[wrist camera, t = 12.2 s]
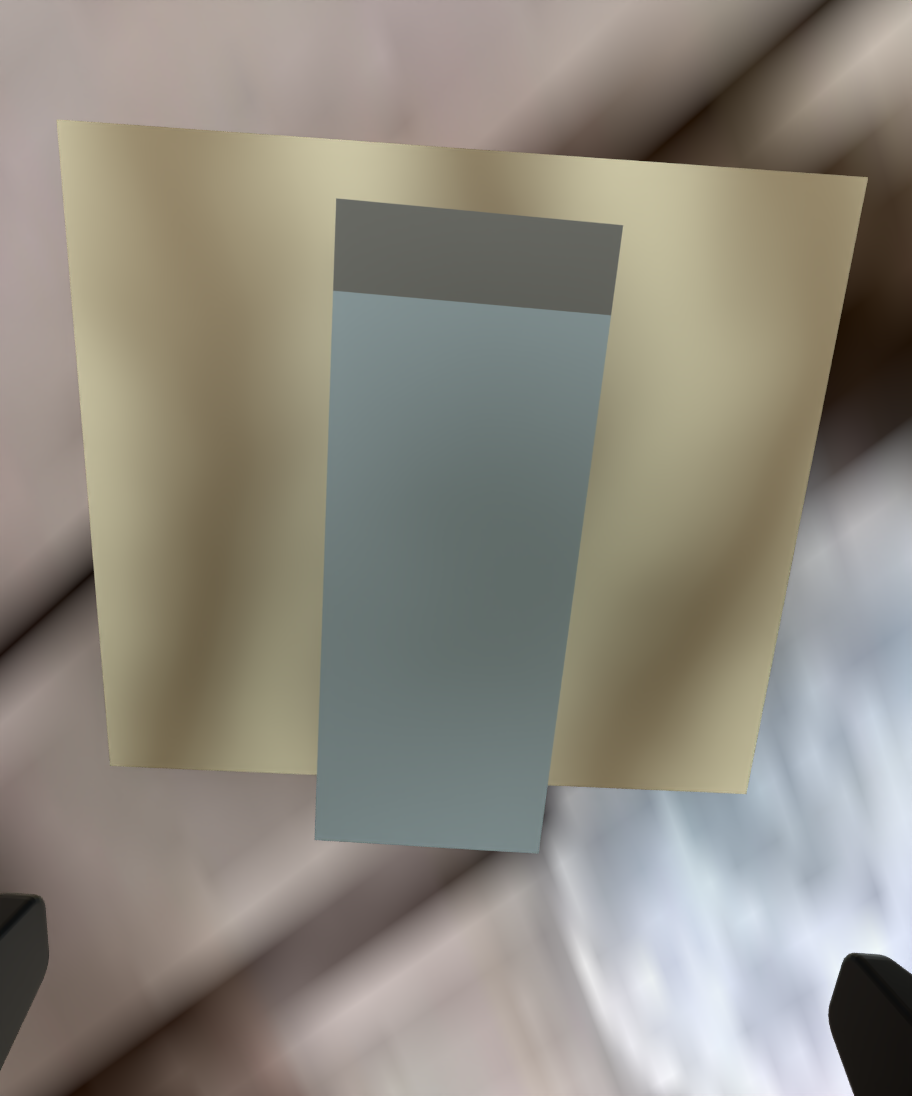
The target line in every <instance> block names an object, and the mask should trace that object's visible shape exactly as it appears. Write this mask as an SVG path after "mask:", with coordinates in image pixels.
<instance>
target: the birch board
mask: <svg viewBox="0 0 912 1096" xmlns="http://www.w3.org/2000/svg"><path fill="white" fill-rule="evenodd" d="M57 130H58V142H59V154H60V166H61V178H62V190H63V202H64V215H65V227H66V239H67V251H68V263H69V275H70V287H71V299H72V311H73V323H74V335H75V347H76V359H77V371H78V383H79V396H80V408H81V420H82V432H83V444H84V456H85V468H86V480H87V492H88V504H89V516H90V528H91V540H92V552H93V565H94V577H95V589H96V601H97V613H98V625H99V637H100V649H101V661H102V673H103V685H104V697H105V709H106V721H107V734H108V746H109V758H110V766H125V767H148V768H170V769H193V770H215V771H238V772H261V773H283V774H306V775H317V757H318V727H319V697H320V667H321V637H322V608H323V578H324V548H325V518H326V488H327V458H328V428H329V398H330V368H331V338H332V308H333V278H334V248H335V218H336V198H338V199H348V200H359V201H370V202H380V203H391V204H402V205H413V206H423V207H434V208H445V209H455V210H466V211H477V212H487V213H498V214H509V215H520V216H530V217H541V218H552V219H562V220H573V221H584V222H595V223H605V224H616V225H623V231H622V238H621V246H620V253H619V261H618V268H617V275H616V283H615V290H614V298H613V305H612V312H611V320H610V327H609V335H608V342H607V349H606V357H605V364H604V372H603V379H602V386H601V394H600V401H599V409H598V416H597V423H596V431H595V438H594V446H593V453H592V460H591V468H590V475H589V483H588V490H587V497H586V505H585V512H584V520H583V527H582V534H581V542H580V549H579V557H578V564H577V571H576V579H575V586H574V594H573V601H572V608H571V616H570V623H569V631H568V638H567V645H566V653H565V660H564V668H563V675H562V682H561V690H560V697H559V705H558V712H557V720H556V727H555V734H554V742H553V749H552V757H551V764H550V771H549V779H548V785H554V786H577V787H599V788H622V789H645V790H667V791H690V792H712V793H735V794H746V792H747V787H748V782H749V777H750V772H751V767H752V762H753V757H754V752H755V747H756V742H757V737H758V732H759V726H760V721H761V716H762V711H763V706H764V701H765V696H766V691H767V686H768V681H769V676H770V671H771V666H772V661H773V656H774V651H775V645H776V640H777V635H778V630H779V625H780V620H781V615H782V610H783V605H784V600H785V595H786V590H787V585H788V580H789V575H790V569H791V564H792V559H793V554H794V549H795V544H796V539H797V534H798V529H799V524H800V519H801V514H802V509H803V504H804V499H805V494H806V488H807V483H808V478H809V473H810V468H811V463H812V458H813V453H814V448H815V443H816V438H817V433H818V428H819V423H820V418H821V413H822V407H823V402H824V397H825V392H826V387H827V382H828V377H829V372H830V367H831V362H832V357H833V352H834V347H835V342H836V337H837V332H838V326H839V321H840V316H841V311H842V306H843V301H844V296H845V291H846V286H847V281H848V276H849V271H850V266H851V261H852V256H853V250H854V245H855V240H856V235H857V230H858V225H859V220H860V215H861V210H862V205H863V200H864V195H865V190H866V185H867V180H868V177H855V176H841V175H827V174H813V173H799V172H785V171H771V170H757V169H743V168H729V167H715V166H701V165H687V164H673V163H659V162H645V161H631V160H617V159H603V158H589V157H575V156H560V155H546V154H532V153H518V152H504V151H490V150H476V149H462V148H448V147H434V146H420V145H406V144H392V143H378V142H364V141H350V140H336V139H322V138H308V137H294V136H280V135H266V134H252V133H238V132H224V131H210V130H196V129H182V128H168V127H154V126H140V125H126V124H112V123H98V122H84V121H70V120H57Z"/></svg>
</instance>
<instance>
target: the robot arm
mask: <svg viewBox="0 0 912 1096" xmlns="http://www.w3.org/2000/svg"><path fill="white" fill-rule="evenodd" d="M48 959H49V946H48V934H47V921H46V908H45V903H44V901H43V899H42V898H41V897H40V896H38V895H34V894H19V893H3V894H0V1070H1V1068H2V1066H3V1064H4V1062H5V1059H6V1057H7V1055H8V1053H9V1051H10V1049H11V1047H12V1045H13V1042H14V1040H15V1038H16V1036H17V1034H18V1032H19V1030H20V1027H21V1025H22V1023H23V1021H24V1019H25V1017H26V1015H27V1013H28V1010H29V1008H30V1006H31V1004H32V1002H33V1000H34V998H35V996H36V993H37V991H38V989H39V987H40V985H41V983H42V980H43V978H44V975H45V972H46V969H47V965H48ZM828 1017H829V1025H830V1029H831V1033H832V1036H833V1039H834V1042H835V1044H836V1047H837V1050H838V1053H839V1055H840V1058H841V1061H842V1064H843V1066H844V1069H845V1072H846V1075H847V1077H848V1080H849V1083H850V1086H851V1088H852V1091H853V1094H854V1096H912V974H911V973H909V972H908V971H907V970H905V969H904V968H903V967H901V966H900V965H899V964H897V963H896V962H895V961H893V960H892V959H890V958H888V957H886V956H883V955H878V954H865V953H851V954H849V955H847V956H846V957H845V958H844V960H843V962H842V965H841V969H840V972H839V975H838V978H837V982H836V985H835V988H834V991H833V995H832V998H831V1001H830V1005H829V1014H828Z"/></svg>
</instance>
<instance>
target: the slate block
mask: <svg viewBox="0 0 912 1096" xmlns="http://www.w3.org/2000/svg"><path fill="white" fill-rule="evenodd" d="M622 231H623V225H616V224H605V223H595V222H584V221H573V220H562V219H552V218H541V217H530V216H520V215H509V214H498V213H487V212H477V211H466V210H455V209H445V208H434V207H423V206H413V205H402V204H391V203H380V202H370V201H359V200H348V199H338V198H336V218H335V248H334V278H333V308H332V338H331V368H330V398H329V428H328V458H327V488H326V518H325V548H324V578H323V608H322V637H321V667H320V697H319V727H318V757H317V787H316V817H315V840H324V841H340V842H357V843H373V844H390V845H406V846H423V847H439V848H456V849H472V850H489V851H505V852H522V853H539V845H540V838H541V831H542V823H543V816H544V808H545V801H546V794H547V786H548V779H549V771H550V764H551V757H552V749H553V742H554V734H555V727H556V720H557V712H558V705H559V697H560V690H561V682H562V675H563V668H564V660H565V653H566V645H567V638H568V631H569V623H570V616H571V608H572V601H573V594H574V586H575V579H576V571H577V564H578V557H579V549H580V542H581V534H582V527H583V520H584V512H585V505H586V497H587V490H588V483H589V475H590V468H591V460H592V453H593V446H594V438H595V431H596V423H597V416H598V409H599V401H600V394H601V386H602V379H603V372H604V364H605V357H606V349H607V342H608V335H609V327H610V320H611V312H612V305H613V298H614V290H615V283H616V275H617V268H618V261H619V253H620V246H621V238H622Z"/></svg>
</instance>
